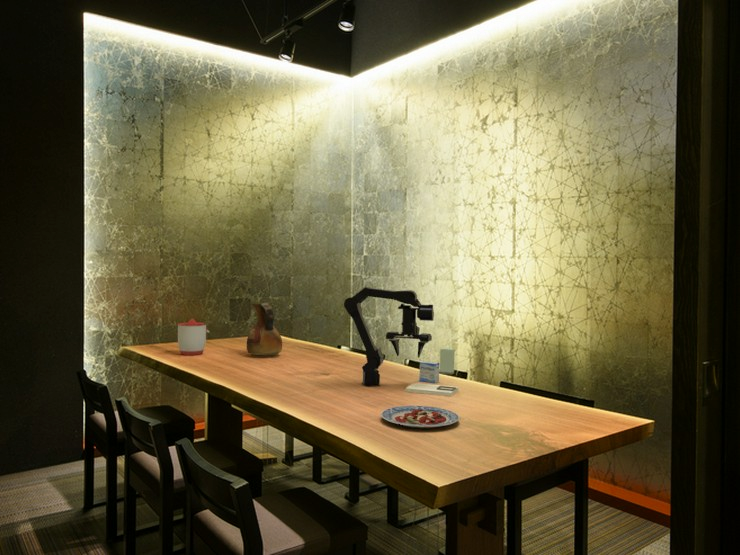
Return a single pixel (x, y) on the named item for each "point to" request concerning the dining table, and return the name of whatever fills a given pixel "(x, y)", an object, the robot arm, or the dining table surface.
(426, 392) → the ticket base
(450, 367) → the grey green upright block
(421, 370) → the medicine box
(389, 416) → the ceramic plate
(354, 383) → the dining table surface
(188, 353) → the citrus juicer
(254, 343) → the ceramic pitcher
